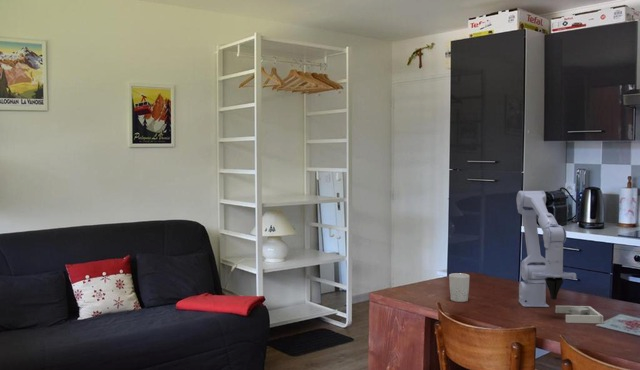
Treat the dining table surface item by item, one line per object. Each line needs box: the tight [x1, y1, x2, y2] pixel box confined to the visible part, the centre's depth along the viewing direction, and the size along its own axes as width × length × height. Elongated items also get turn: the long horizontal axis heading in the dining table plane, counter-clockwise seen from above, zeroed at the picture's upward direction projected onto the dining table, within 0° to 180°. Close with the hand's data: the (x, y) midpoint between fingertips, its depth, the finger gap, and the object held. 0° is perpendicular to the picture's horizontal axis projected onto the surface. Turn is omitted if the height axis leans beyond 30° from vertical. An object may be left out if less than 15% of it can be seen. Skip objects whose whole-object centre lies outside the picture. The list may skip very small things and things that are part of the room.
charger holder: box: [555, 305, 604, 324], centre depth 203 cm, size 12×13×2 cm
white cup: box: [448, 272, 470, 303], centre depth 229 cm, size 8×8×10 cm
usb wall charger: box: [569, 305, 590, 315], centre depth 202 cm, size 4×7×4 cm, turn 16°
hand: (553, 298), depth 204 cm, fingers closed
